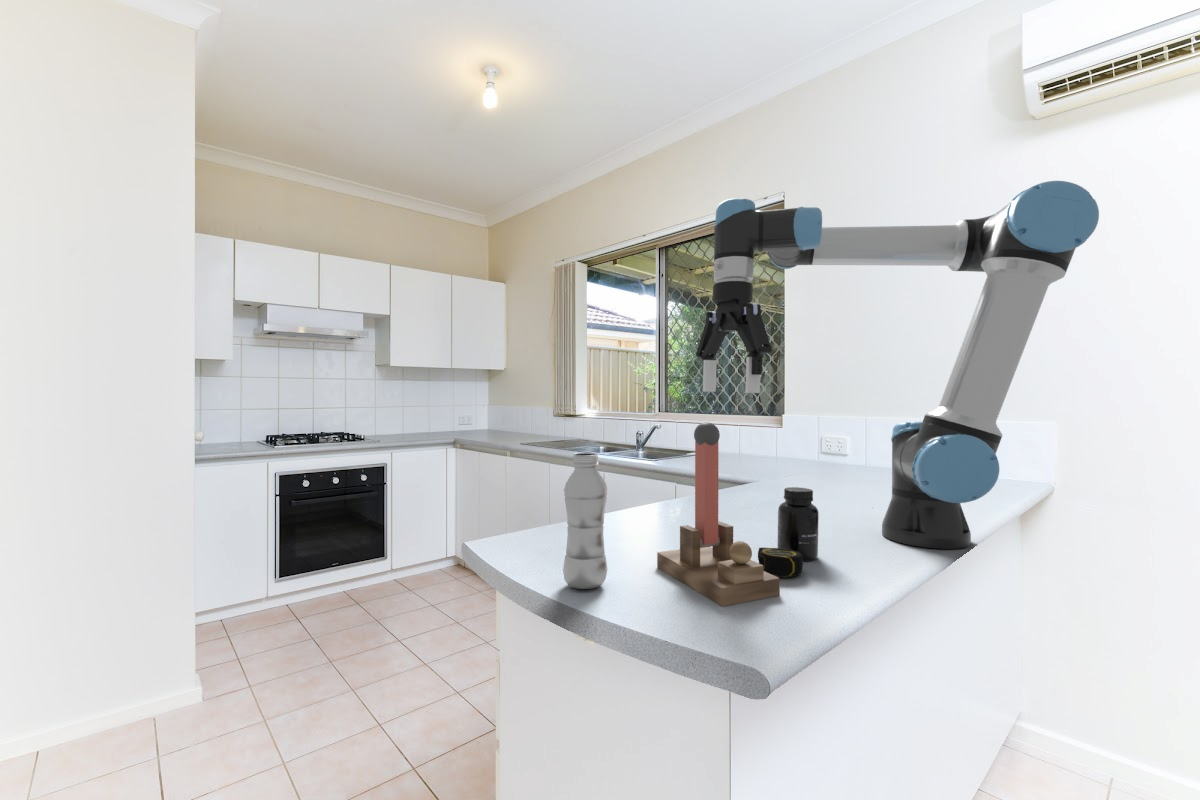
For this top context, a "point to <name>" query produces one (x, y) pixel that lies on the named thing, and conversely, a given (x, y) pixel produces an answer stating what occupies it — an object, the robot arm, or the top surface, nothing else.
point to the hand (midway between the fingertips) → (729, 392)
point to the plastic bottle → (585, 524)
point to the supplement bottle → (798, 523)
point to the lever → (706, 483)
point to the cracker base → (707, 569)
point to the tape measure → (780, 561)
